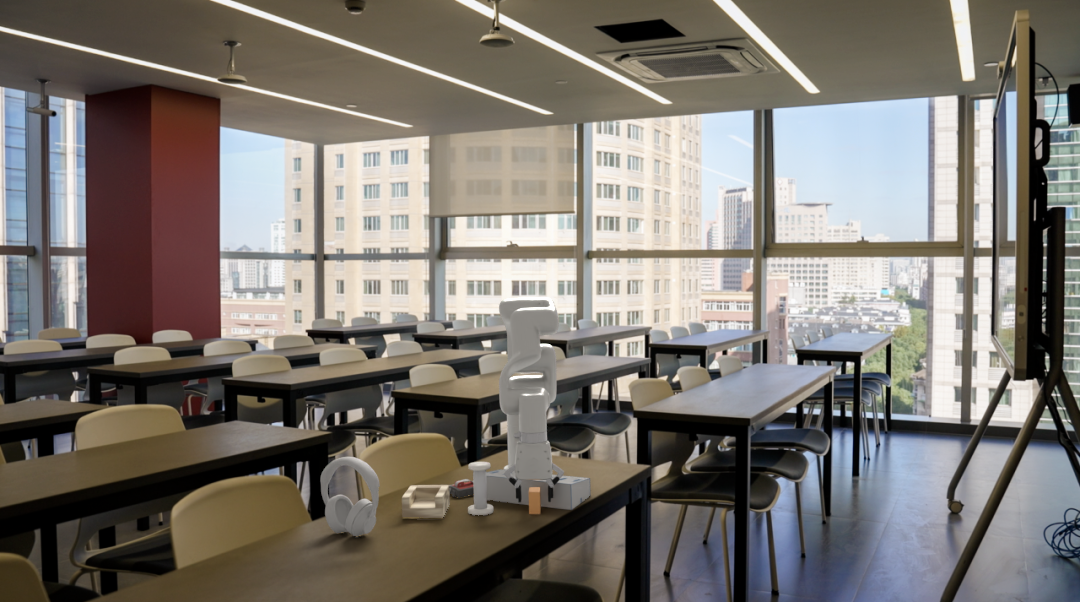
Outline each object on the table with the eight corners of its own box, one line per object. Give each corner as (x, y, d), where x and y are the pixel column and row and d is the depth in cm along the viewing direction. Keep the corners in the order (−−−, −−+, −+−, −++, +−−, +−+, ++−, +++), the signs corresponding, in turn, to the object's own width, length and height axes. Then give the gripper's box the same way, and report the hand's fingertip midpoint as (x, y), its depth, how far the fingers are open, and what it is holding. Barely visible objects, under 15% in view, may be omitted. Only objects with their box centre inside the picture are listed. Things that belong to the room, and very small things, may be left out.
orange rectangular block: (530, 508, 216) (529, 487, 216) (540, 508, 216) (540, 487, 216) (529, 514, 211) (528, 492, 211) (540, 514, 211) (539, 492, 211)
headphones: (389, 535, 196) (386, 457, 196) (367, 545, 189) (365, 464, 189) (336, 525, 205) (333, 450, 205) (313, 534, 199) (311, 456, 198)
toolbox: (480, 486, 242) (422, 497, 231) (480, 472, 242) (421, 483, 230) (495, 492, 235) (435, 504, 223) (494, 477, 235) (435, 489, 223)
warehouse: (590, 497, 227) (590, 471, 227) (571, 511, 214) (571, 484, 214) (499, 487, 240) (499, 463, 239) (476, 500, 227) (476, 474, 226)
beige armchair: (411, 506, 221) (410, 485, 221) (449, 505, 221) (449, 484, 220) (402, 519, 209) (401, 497, 209) (443, 519, 209) (442, 496, 208)
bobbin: (469, 508, 218) (468, 461, 217) (494, 507, 218) (493, 461, 217) (466, 515, 211) (465, 467, 210) (492, 515, 211) (490, 467, 210)
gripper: (500, 440, 210) (502, 505, 210) (564, 439, 209) (566, 504, 210) (502, 434, 217) (504, 497, 218) (565, 433, 216) (566, 496, 217)
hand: (534, 500), depth 214 cm, fingers open, 7 cm apart
